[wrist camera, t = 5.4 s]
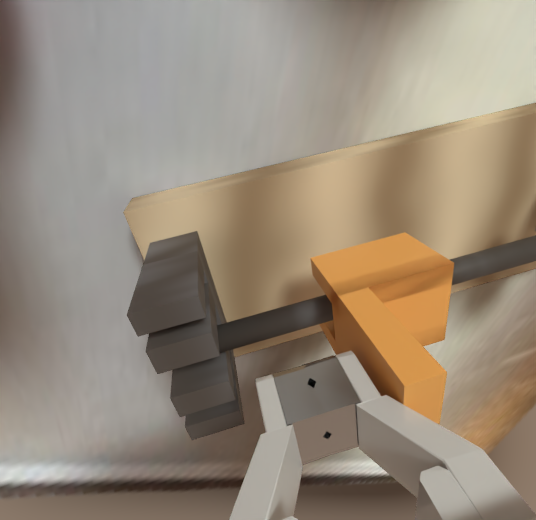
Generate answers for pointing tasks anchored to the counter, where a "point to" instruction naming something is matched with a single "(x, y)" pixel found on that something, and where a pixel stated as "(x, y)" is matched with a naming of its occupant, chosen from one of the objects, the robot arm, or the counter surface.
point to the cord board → (318, 243)
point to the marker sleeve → (390, 315)
